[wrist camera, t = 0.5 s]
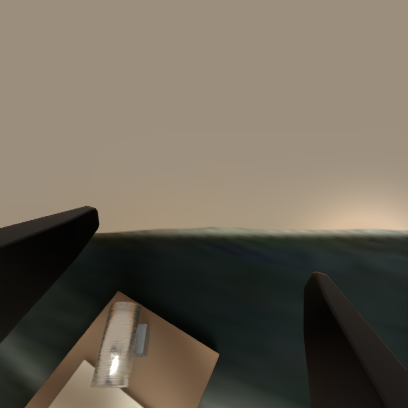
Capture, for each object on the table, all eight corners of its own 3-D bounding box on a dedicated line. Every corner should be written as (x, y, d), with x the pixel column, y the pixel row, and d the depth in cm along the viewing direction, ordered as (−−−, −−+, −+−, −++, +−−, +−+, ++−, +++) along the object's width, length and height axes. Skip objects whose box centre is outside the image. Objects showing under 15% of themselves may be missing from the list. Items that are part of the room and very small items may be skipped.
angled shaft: (143, 388, 17) (129, 384, 14) (100, 390, 17) (77, 386, 14) (151, 317, 20) (142, 301, 17) (116, 318, 20) (101, 302, 17)
